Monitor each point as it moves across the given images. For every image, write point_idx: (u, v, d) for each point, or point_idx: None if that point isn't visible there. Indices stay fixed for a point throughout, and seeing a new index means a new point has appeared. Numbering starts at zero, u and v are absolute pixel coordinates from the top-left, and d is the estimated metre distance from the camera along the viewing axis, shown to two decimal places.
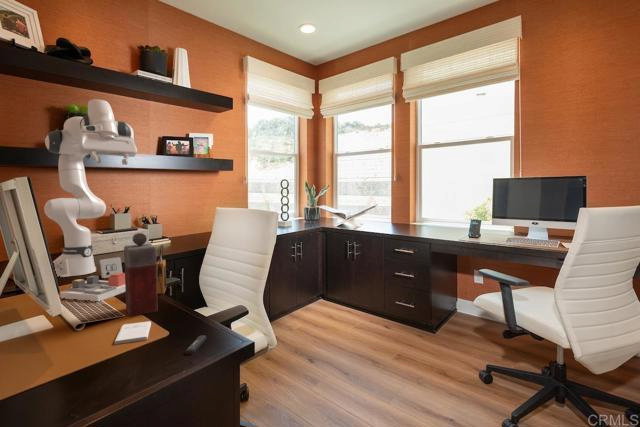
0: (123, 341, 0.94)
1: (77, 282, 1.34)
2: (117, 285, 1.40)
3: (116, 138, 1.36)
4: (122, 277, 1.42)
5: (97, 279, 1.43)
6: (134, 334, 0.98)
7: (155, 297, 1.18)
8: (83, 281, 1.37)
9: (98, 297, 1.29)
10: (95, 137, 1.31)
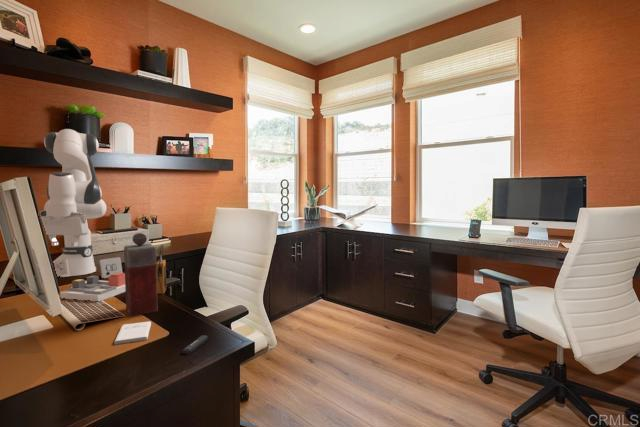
0: (123, 341, 0.94)
1: (77, 282, 1.34)
2: (117, 285, 1.40)
3: (65, 219, 1.33)
4: (122, 277, 1.42)
5: (97, 279, 1.43)
6: (134, 334, 0.97)
7: (155, 297, 1.18)
8: (83, 281, 1.37)
9: (98, 297, 1.29)
10: (50, 221, 1.35)
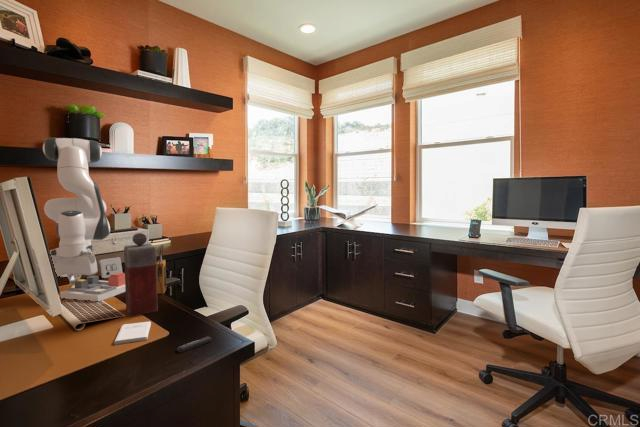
0: (123, 341, 0.94)
1: (80, 282, 1.34)
2: (117, 285, 1.40)
3: (75, 259, 1.33)
4: (122, 277, 1.42)
5: (97, 279, 1.43)
6: (134, 334, 0.97)
7: (155, 297, 1.18)
8: (86, 281, 1.36)
9: (98, 297, 1.29)
10: (60, 259, 1.35)
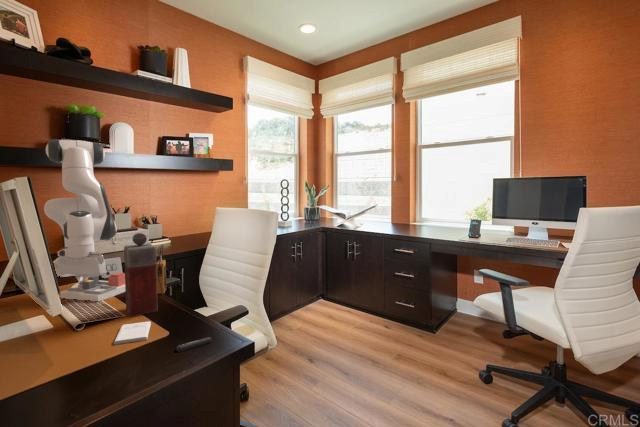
0: (123, 341, 0.94)
1: (88, 283, 1.33)
2: (117, 285, 1.40)
3: (83, 259, 1.32)
4: (122, 277, 1.42)
5: (97, 279, 1.43)
6: (134, 334, 0.97)
7: (155, 297, 1.18)
8: (93, 282, 1.35)
9: (98, 297, 1.29)
10: (68, 260, 1.34)
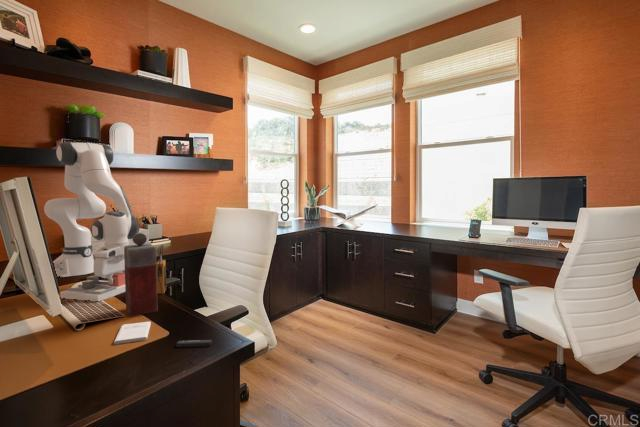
0: (123, 341, 0.94)
1: (87, 283, 1.33)
2: (117, 285, 1.40)
3: None
4: (122, 277, 1.42)
5: (97, 279, 1.43)
6: (134, 334, 0.97)
7: (155, 297, 1.18)
8: (93, 282, 1.35)
9: (98, 297, 1.29)
10: (112, 260, 1.37)
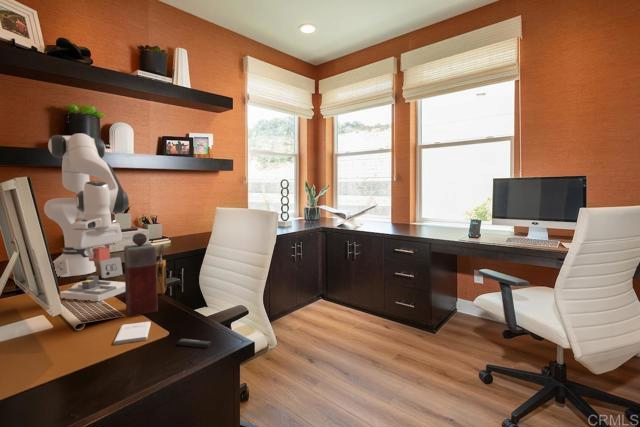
0: (122, 341, 0.94)
1: (87, 283, 1.33)
2: (98, 260, 1.30)
3: (108, 228, 1.35)
4: (104, 251, 1.32)
5: (97, 279, 1.43)
6: (134, 334, 0.97)
7: (155, 297, 1.18)
8: (93, 282, 1.35)
9: (98, 297, 1.29)
10: (92, 232, 1.28)
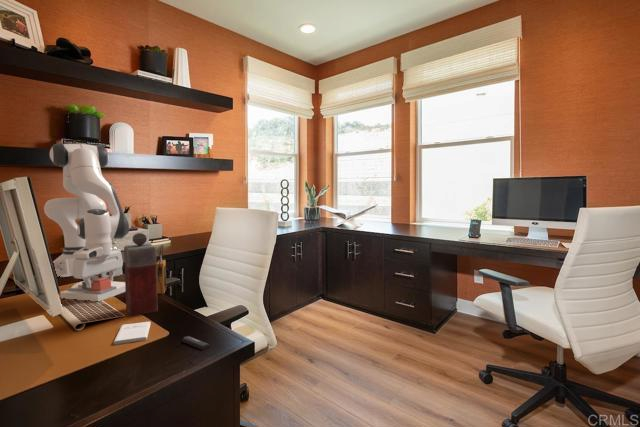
0: (122, 341, 0.94)
1: None
2: None
3: (109, 256, 1.36)
4: (105, 282, 1.33)
5: None
6: (134, 334, 0.97)
7: (155, 297, 1.18)
8: None
9: (98, 297, 1.29)
10: (93, 261, 1.28)
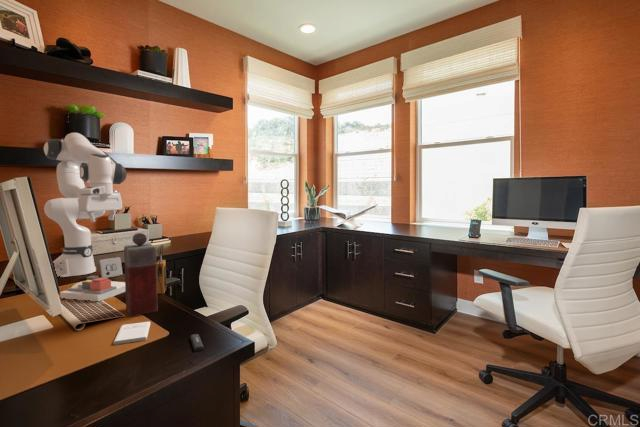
0: (122, 341, 0.94)
1: (87, 283, 1.33)
2: None
3: (110, 196, 1.53)
4: (105, 282, 1.33)
5: None
6: (134, 334, 0.97)
7: (155, 297, 1.18)
8: None
9: (98, 297, 1.29)
10: (96, 198, 1.45)
